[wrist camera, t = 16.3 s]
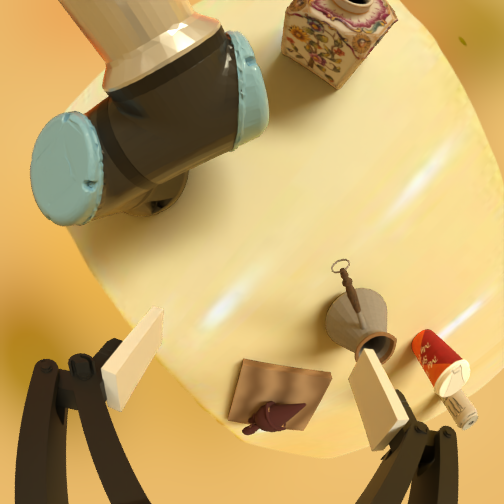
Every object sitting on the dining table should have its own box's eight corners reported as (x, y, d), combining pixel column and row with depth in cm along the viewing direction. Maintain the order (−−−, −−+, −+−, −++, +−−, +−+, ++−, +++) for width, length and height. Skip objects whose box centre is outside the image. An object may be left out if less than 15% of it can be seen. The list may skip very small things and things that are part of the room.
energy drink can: (446, 378, 50) (472, 414, 36) (458, 379, 50) (483, 413, 36) (434, 395, 52) (456, 432, 37) (446, 396, 52) (468, 430, 38)
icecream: (293, 401, 42) (229, 424, 47) (313, 426, 42) (250, 447, 46) (298, 381, 49) (240, 406, 53) (316, 405, 48) (259, 427, 53)
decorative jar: (316, 15, 33) (334, -46, 15) (370, 52, 34) (414, 3, 17) (278, 53, 35) (282, -9, 18) (336, 92, 37) (375, 47, 19)
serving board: (228, 414, 55) (227, 420, 53) (243, 358, 50) (242, 364, 48) (302, 424, 55) (303, 430, 53) (330, 372, 50) (332, 378, 48)
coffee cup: (405, 334, 47) (438, 378, 33) (437, 318, 46) (474, 356, 31) (408, 362, 49) (435, 406, 34) (437, 346, 48) (469, 385, 33)
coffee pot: (388, 319, 46) (421, 365, 32) (336, 347, 48) (354, 401, 34) (347, 220, 42) (384, 241, 28) (286, 253, 44) (295, 289, 30)
